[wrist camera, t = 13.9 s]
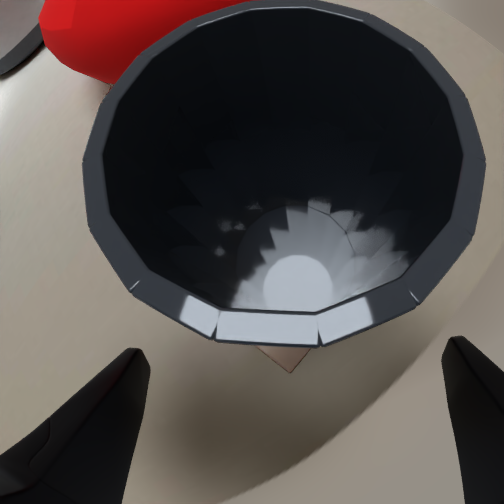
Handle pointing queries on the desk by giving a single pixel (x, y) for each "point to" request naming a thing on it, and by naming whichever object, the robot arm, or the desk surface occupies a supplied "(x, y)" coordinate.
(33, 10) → the planter
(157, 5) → the vase
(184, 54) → the pencil cup
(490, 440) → the robot arm
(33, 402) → the desk surface
